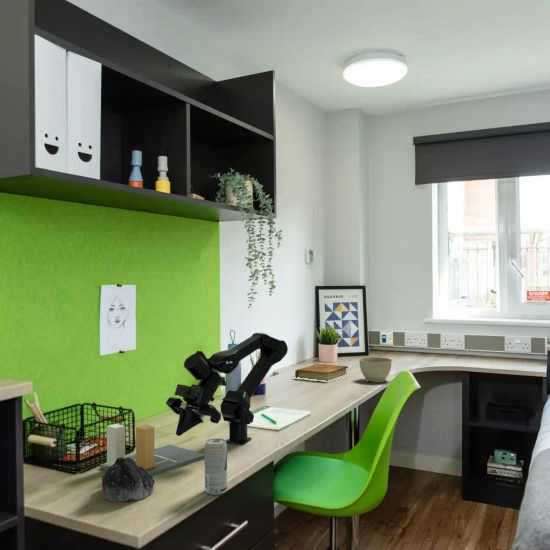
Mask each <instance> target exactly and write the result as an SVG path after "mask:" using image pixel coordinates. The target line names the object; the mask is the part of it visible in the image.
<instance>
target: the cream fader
mask: <svg viewBox="0 0 550 550" xmlns="http://www.w3.org/2000/svg"><path fill="white" fill-rule="evenodd" d="M120 457H123V458H125V457H126V426H125V425H122V424H119V423H114V424H110V425H109V424H108V425H107V426H106V462H104V463H105V465H106V466H108V467H110V466H111V465H113V464H114V463H115V461H116V459H117V458H120Z"/></svg>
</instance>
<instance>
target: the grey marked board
mask: <svg viewBox="0 0 550 550" xmlns="http://www.w3.org/2000/svg"><path fill="white" fill-rule="evenodd" d="M128 457H130V458H131V459H133V460H134V461H135V463H136V453H135V454H132V455H128V456H125V459H126V458H128ZM154 460H155V464H157V466H156V467H153V468H150V469H147V471H148V472H149V474H150V475H151V476H152V477H154V476H157V475H159V474H163V473H167V472H169V471H172V470H175V469H178V468H180V467H184V466H187V465H190V464H192V463H195V462H199V461H201V460H205V453H201V452H197V451H194V450H191V449H187V448H183V447H180V446H177V445H173V444H167V445H164V446H160V447H156V448H154ZM105 463H106V462H104V463H99V469H101V470H103V469H104V471H106V472H107V470H108V469H109V467H108V466H106V465H105Z"/></svg>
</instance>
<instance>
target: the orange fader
mask: <svg viewBox="0 0 550 550" xmlns="http://www.w3.org/2000/svg"><path fill="white" fill-rule="evenodd" d="M154 449H155V426H153V425H152V426H151V425H148V424H142V425H139V426H135V454H136V465H137V466H139V467H142V468H144V469H145V470H147V469H150V468H153V467H156V466H157V464H155V460H154Z"/></svg>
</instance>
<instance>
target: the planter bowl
mask: <svg viewBox="0 0 550 550" xmlns="http://www.w3.org/2000/svg"><path fill="white" fill-rule="evenodd" d="M358 360H359V368H360V372H361V373H362V375H363V377H364V378H365V381H366V380H368V381H374V382H373V383H384V381H385V382H386V379H387V378H388V376H389V375H390V372H391V369H392V363H393V360H392V359H391V358H388V357H380V356H379V357H378V356H377V357H376V356H370V357H368V356H367V357H360V358H359V359H358ZM368 381H367V382H368Z"/></svg>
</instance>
